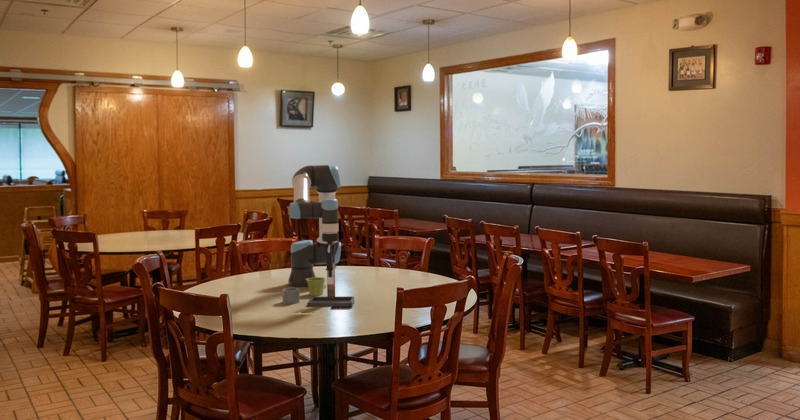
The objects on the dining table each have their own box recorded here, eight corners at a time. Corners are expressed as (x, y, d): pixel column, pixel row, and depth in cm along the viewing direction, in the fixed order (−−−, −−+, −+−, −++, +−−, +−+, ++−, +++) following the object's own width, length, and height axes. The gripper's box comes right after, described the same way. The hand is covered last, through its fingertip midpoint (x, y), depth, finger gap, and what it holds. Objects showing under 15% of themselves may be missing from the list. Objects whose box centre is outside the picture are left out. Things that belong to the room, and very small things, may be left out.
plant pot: (307, 298, 327) (307, 281, 326) (305, 295, 336) (304, 277, 335) (327, 297, 329) (326, 279, 328) (324, 293, 338) (323, 276, 337)
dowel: (327, 297, 314) (327, 263, 312) (335, 297, 314) (335, 263, 312) (326, 299, 310) (326, 264, 309) (334, 299, 310) (334, 264, 309)
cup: (284, 302, 318) (284, 287, 318) (300, 302, 318) (300, 287, 318) (281, 306, 311) (281, 291, 310) (298, 306, 311) (297, 291, 310)
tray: (312, 301, 319) (312, 296, 319) (354, 301, 319) (354, 296, 319) (307, 308, 305) (307, 303, 305) (351, 308, 305) (351, 302, 305)
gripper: (324, 230, 318) (325, 280, 320) (319, 234, 301) (320, 286, 303) (340, 230, 318) (341, 279, 319) (336, 234, 301) (337, 286, 303)
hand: (331, 283), depth 311 cm, fingers closed on dowel, 3 cm apart
